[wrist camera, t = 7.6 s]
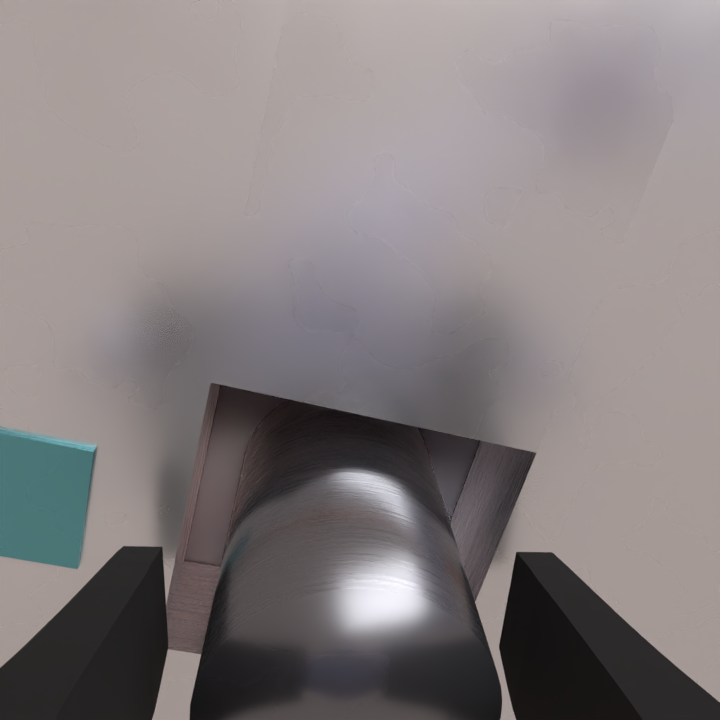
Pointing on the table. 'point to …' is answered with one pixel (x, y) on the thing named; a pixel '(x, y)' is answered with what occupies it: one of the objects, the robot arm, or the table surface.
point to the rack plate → (366, 282)
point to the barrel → (342, 583)
